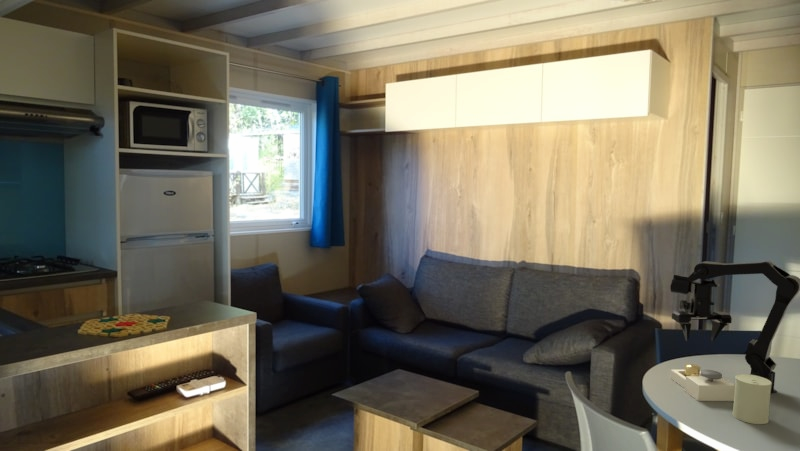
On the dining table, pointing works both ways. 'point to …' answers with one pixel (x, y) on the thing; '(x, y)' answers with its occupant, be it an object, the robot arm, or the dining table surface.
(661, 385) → the dining table surface
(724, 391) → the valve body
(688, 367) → the brass cylinder
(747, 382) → the can
